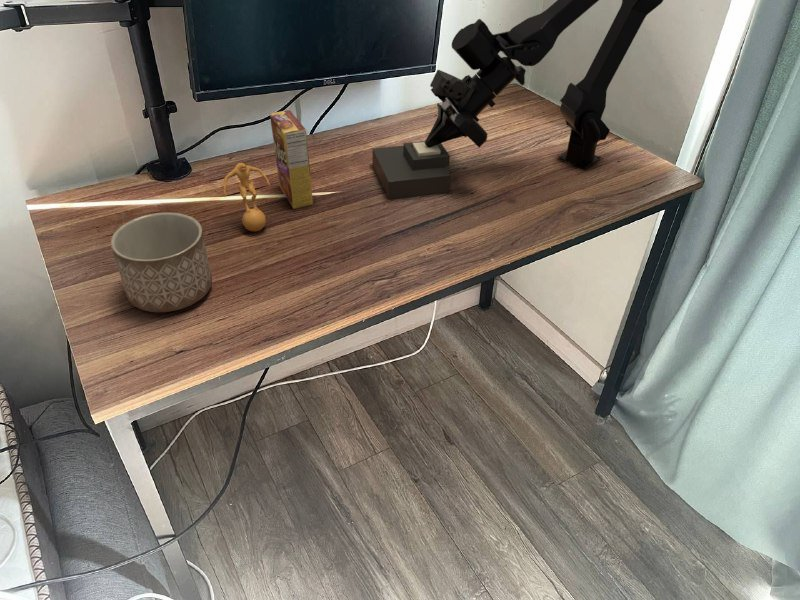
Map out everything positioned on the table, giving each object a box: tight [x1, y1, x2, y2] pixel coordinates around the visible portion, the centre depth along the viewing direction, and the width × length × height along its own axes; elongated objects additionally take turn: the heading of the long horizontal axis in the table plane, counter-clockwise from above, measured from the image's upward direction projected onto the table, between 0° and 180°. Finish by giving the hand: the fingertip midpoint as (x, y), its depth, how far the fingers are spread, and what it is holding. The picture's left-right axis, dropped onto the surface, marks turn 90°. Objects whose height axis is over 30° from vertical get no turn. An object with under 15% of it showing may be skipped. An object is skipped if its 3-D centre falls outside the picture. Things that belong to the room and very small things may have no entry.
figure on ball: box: [222, 162, 271, 232], centre depth 113 cm, size 8×6×12 cm
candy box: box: [269, 109, 314, 210], centre depth 120 cm, size 9×4×15 cm, turn 25°
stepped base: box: [371, 140, 451, 200], centre depth 129 cm, size 13×14×6 cm
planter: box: [110, 212, 213, 313], centre depth 99 cm, size 13×13×10 cm
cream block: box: [413, 141, 441, 157], centre depth 128 cm, size 4×4×2 cm
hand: (426, 145), depth 127 cm, fingers closed, pressing on cream block
